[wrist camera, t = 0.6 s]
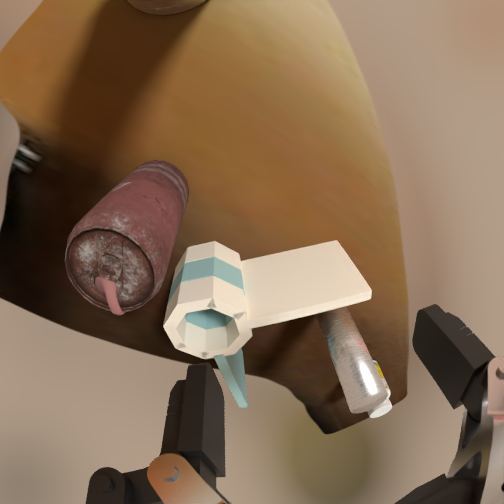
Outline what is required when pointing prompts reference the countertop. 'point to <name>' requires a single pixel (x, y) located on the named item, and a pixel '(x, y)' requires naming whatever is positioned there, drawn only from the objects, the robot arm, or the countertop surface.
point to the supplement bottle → (385, 405)
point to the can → (128, 239)
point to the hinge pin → (352, 360)
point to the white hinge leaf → (260, 294)
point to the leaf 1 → (217, 318)
